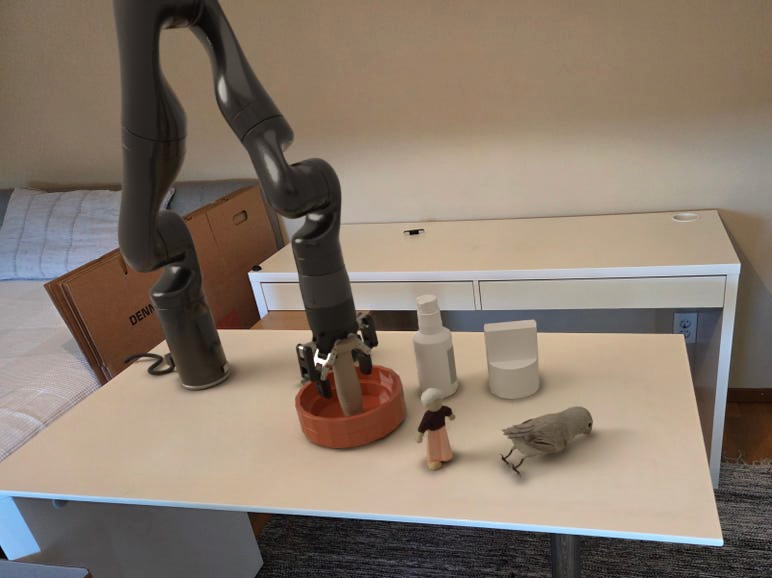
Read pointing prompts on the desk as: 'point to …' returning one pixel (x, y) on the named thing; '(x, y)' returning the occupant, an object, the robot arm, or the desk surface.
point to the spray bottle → (434, 349)
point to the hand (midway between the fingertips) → (347, 385)
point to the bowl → (337, 431)
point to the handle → (347, 378)
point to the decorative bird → (548, 433)
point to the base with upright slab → (512, 358)
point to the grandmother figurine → (435, 428)
